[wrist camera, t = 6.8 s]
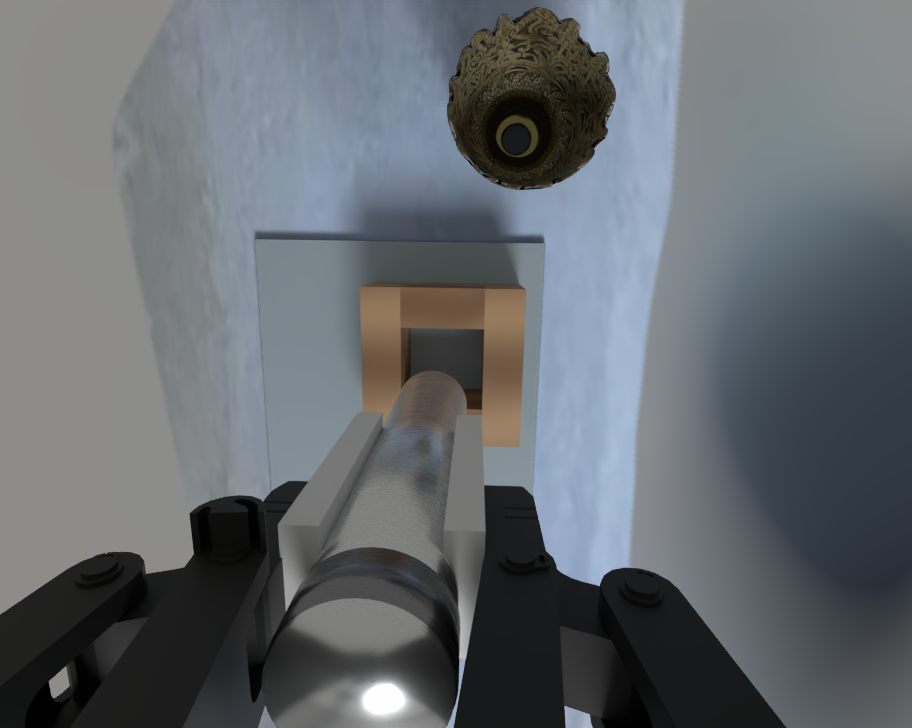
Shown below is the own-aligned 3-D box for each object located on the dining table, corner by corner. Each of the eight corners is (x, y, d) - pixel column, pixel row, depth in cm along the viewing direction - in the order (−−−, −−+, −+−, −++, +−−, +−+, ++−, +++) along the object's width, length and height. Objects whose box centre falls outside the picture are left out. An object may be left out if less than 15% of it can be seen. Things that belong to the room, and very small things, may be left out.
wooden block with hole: (513, 422, 34) (519, 447, 30) (377, 418, 34) (363, 443, 30) (519, 284, 32) (526, 289, 28) (375, 281, 32) (359, 286, 28)
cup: (428, 137, 31) (412, 98, 23) (519, 41, 30) (536, -34, 22) (512, 230, 32) (524, 223, 24) (604, 141, 31) (649, 103, 23)
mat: (526, 611, 37) (526, 614, 37) (281, 602, 38) (279, 606, 38) (544, 243, 32) (545, 243, 31) (257, 239, 32) (254, 239, 32)
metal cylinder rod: (467, 438, 21) (457, 776, 8) (397, 436, 21) (265, 769, 8) (468, 369, 21) (458, 607, 7) (396, 369, 21) (250, 602, 7)
